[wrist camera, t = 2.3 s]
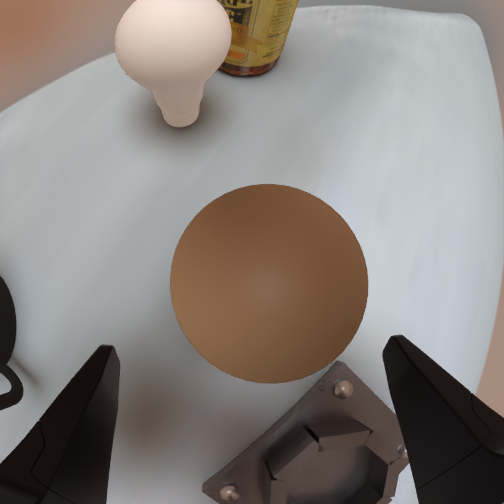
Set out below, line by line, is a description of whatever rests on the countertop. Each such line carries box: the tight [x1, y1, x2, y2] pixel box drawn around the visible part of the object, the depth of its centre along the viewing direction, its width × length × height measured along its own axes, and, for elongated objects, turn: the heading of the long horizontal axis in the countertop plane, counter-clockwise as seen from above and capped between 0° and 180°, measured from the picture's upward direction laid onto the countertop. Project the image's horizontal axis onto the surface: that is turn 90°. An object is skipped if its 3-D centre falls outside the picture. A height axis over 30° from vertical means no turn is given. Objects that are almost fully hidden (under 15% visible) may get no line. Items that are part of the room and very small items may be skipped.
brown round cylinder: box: [170, 184, 368, 383], centre depth 13 cm, size 4×4×12 cm
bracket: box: [202, 361, 409, 504], centre depth 16 cm, size 12×10×4 cm
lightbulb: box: [115, 0, 232, 127], centre depth 16 cm, size 6×6×11 cm
